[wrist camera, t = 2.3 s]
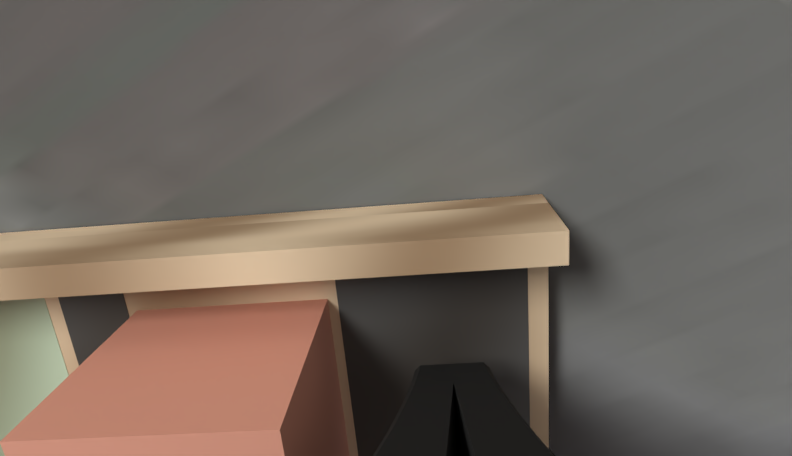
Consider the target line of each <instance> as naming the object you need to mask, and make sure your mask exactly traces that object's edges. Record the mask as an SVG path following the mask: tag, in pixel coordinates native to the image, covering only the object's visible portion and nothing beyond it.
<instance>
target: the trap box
mask: <svg viewBox="0 0 792 456" xmlns="http://www.w3.org/2000/svg"><path fill="white" fill-rule="evenodd" d="M565 265H569V230H568V228H567V227H566V226H565V224H564V223H563V222H562V220H561V219H560V218H559V216H558V215H557V214H556V212H555V211H554V210H553V208H552V207H551V206H550V204H549V203H548V202H547V200H546V199H545V198H544V196H543V195H542V194H538V195H524V196H510V197H496V198H483V199H469V200H455V201H441V202H427V203H413V204H399V205H385V206H371V207H357V208H343V209H329V210H315V211H301V212H287V213H273V214H259V215H246V216H232V217H218V218H204V219H190V220H176V221H162V222H148V223H134V224H120V225H106V226H92V227H78V228H64V229H50V230H36V231H22V232H9V233H0V441H1V440H2V439H3V438H4V437H5V436H6V435H7V434H8V433H9V432H10V431H12V430H13V429H14V428H15V427H16V426H17V425H18V424H19V423H20V422H21V421H22V420H23V419H24V418H25V417H26V416H27V415H28V414H29V413H30V412H31V411H32V410H33V409H35V408H36V407H37V406H38V405H39V404H40V403H41V402H42V401H43V400H44V399H45V398H46V397H47V396H48V395H49V394H50V393H51V392H52V391H53V390H54V389H55V388H57V387H58V386H59V385H60V384H61V383H62V382H63V381H64V380H65V379H66V378H67V377H68V376H69V375H70V374H71V373H72V372H73V371H74V370H75V369H76V368H77V367H79V366H80V365H81V364H82V363H83V362H84V361H85V360H86V359H87V358H88V357H89V356H90V355H91V354H92V353H93V352H94V351H95V350H96V349H97V348H98V347H99V346H100V345H102V344H103V343H104V342H105V341H106V340H107V339H108V338H109V337H110V336H111V335H112V334H113V333H114V332H115V331H116V330H117V329H118V328H119V327H120V326H121V325H122V324H124V323H125V322H126V321H127V320H128V319H129V318H130V317H131V316H132V315H133V314H134V313H135V312H136V311H137V310H153V309H169V308H186V307H202V306H219V305H236V304H252V303H269V302H286V301H302V300H319V299H328V305H329V313H330V320H331V327H332V334H333V341H334V348H335V355H336V363H337V370H338V377H339V384H340V391H341V398H342V406H343V413H344V420H345V427H346V434H347V441H348V449H349V456H373V454H374V453H375V451H376V450H377V448H378V447H379V445H380V443H381V442H382V440H383V439H384V437H385V435H386V434H387V432H388V430H389V428H390V426H391V424H392V422H393V421H394V419H395V417H396V415H397V413H398V411H399V409H400V407H401V405H402V403H403V401H404V399H405V397H406V394H407V392H408V390H409V387H410V385H411V382H412V379H413V376H414V372H415V370H416V369H417V368H418V367H419V366H420V365H438V364H457V363H477V362H484V363H485V364H486V365H487V366H488V367H490V370H491V372H492V373H493V375H494V377H495V379H496V380H497V382H498V384H499V385H500V387H501V388H502V390H503V391H504V393H505V394H506V396H507V397H508V399H509V400H510V401H511V403H512V404H513V406H514V407H515V408H516V410H517V411H518V412H519V414H520V415H521V416H522V417H523V419H524V420H525V421H526V422H527V424H528V425H529V426H530V427H531V429H532V430H533V431H534V432H535V434H536V435H537V436H538V437H539V438H540V439H541V441H542V442H543V443H544V444H545V445H546V446H547V447H548V448H549V290H548V267H549V266H565ZM0 456H5V455H4V452H3V450H2V447H1V444H0Z"/></svg>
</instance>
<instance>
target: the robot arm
mask: <svg viewBox="0 0 792 456" xmlns="http://www.w3.org/2000/svg"><path fill="white" fill-rule="evenodd" d="M373 456H555V455H554V454H553V453H552V452H551V451H550V450H549V448H548V447H547V446H546V445H545V444H544V443H543V442H542V441H541V439H540V438H539V437H538V436H537V435H536V434H535V432H534V431H533V430H532V429H531V427H530V426H529V425H528V424H527V422H526V421H525V420H524V419H523V417H522V416H521V415H520V414H519V412H518V411H517V410H516V408H515V407H514V406H513V404H512V403H511V401H510V400H509V399H508V397H507V396H506V394H505V393H504V391H503V390H502V388H501V387H500V385H499V384H498V382H497V380H496V379H495V377H494V375H493V373H492V372H491V370H490V367H488V366H487V365H486V364H485V363H484V362H477V363H457V364H438V365H420V366H419V367H418V368H417V369H416V370H415V372H414V376H413V379H412V382H411V385H410V387H409V390H408V392H407V394H406V397H405V399H404V401H403V403H402V405H401V407H400V409H399V411H398V413H397V415H396V417H395V419H394V421H393V422H392V424H391V426H390V428H389V430H388V432H387V434H386V435H385V437H384V439H383V440H382V442H381V443H380V445H379V447H378V448H377V450H376V451H375V453H374V454H373Z"/></svg>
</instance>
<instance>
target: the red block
mask: <svg viewBox="0 0 792 456" xmlns="http://www.w3.org/2000/svg"><path fill="white" fill-rule="evenodd" d="M0 444H1V447H2V450H3V452H4V455H5V456H349V449H348V441H347V434H346V427H345V420H344V413H343V406H342V398H341V391H340V384H339V377H338V370H337V363H336V355H335V348H334V341H333V334H332V327H331V320H330V313H329V305H328V299H319V300H302V301H286V302H269V303H252V304H236V305H219V306H202V307H186V308H169V309H153V310H137V311H136V312H135V313H134V314H133V315H132V316H131V317H130V318H129V319H128V320H127V321H126V322H125V323H124V324H122V325H121V326H120V327H119V328H118V329H117V330H116V331H115V332H114V333H113V334H112V335H111V336H110V337H109V338H108V339H107V340H106V341H105V342H104V343H103V344H102V345H100V346H99V347H98V348H97V349H96V350H95V351H94V352H93V353H92V354H91V355H90V356H89V357H88V358H87V359H86V360H85V361H84V362H83V363H82V364H81V365H80V366H79V367H77V368H76V369H75V370H74V371H73V372H72V373H71V374H70V375H69V376H68V377H67V378H66V379H65V380H64V381H63V382H62V383H61V384H60V385H59V386H58V387H57V388H55V389H54V390H53V391H52V392H51V393H50V394H49V395H48V396H47V397H46V398H45V399H44V400H43V401H42V402H41V403H40V404H39V405H38V406H37V407H36V408H35V409H33V410H32V411H31V412H30V413H29V414H28V415H27V416H26V417H25V418H24V419H23V420H22V421H21V422H20V423H19V424H18V425H17V426H16V427H15V428H14V429H13V430H12V431H10V432H9V433H8V434H7V435H6V436H5V437H4V438H3V439H2V440H1V441H0Z"/></svg>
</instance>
